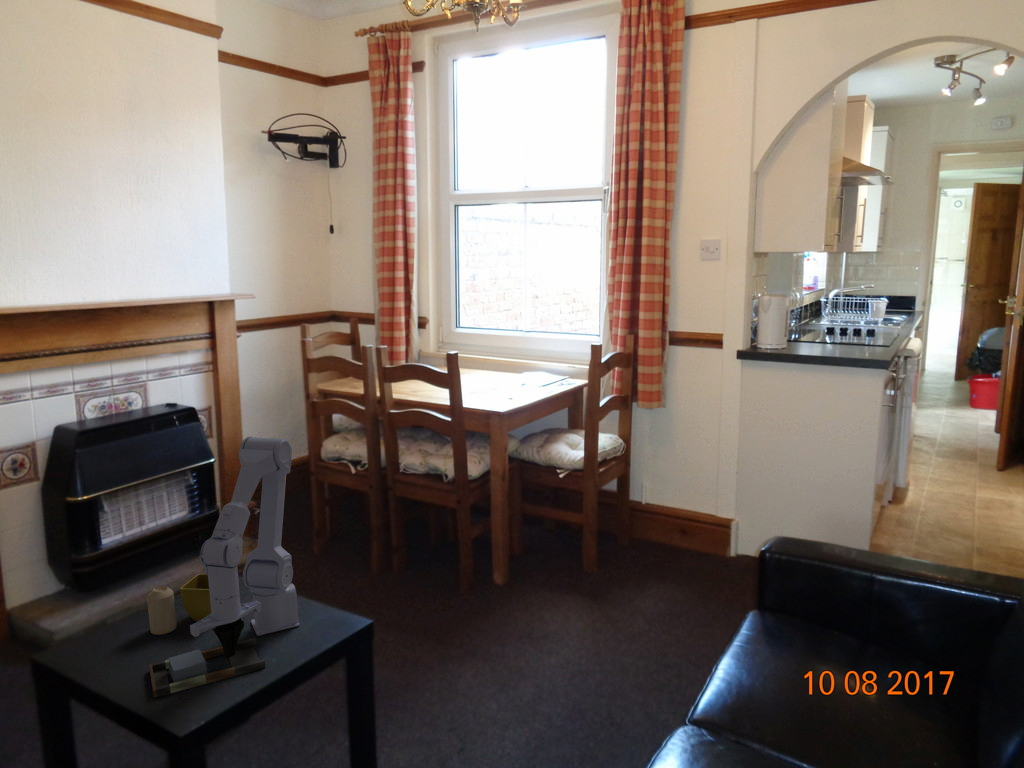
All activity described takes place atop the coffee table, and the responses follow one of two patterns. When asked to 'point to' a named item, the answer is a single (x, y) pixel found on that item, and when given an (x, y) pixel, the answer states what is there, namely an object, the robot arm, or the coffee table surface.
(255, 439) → the robot arm
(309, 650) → the coffee table surface
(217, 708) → the coffee table surface
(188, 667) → the block
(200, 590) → the flower pot
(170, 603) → the candle
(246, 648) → the trap lane
